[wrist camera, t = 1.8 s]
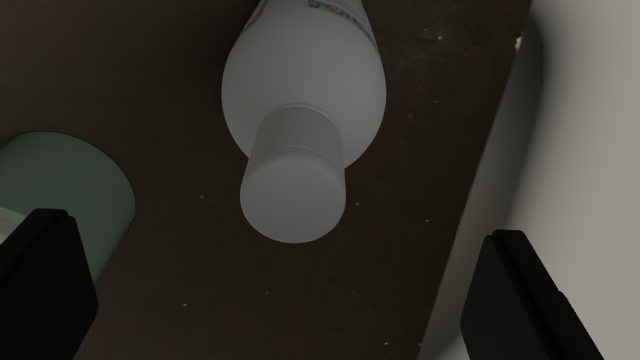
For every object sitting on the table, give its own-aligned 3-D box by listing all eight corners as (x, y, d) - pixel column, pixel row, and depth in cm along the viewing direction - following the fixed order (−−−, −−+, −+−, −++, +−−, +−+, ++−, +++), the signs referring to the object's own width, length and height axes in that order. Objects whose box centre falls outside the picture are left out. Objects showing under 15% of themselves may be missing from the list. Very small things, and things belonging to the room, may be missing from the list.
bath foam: (274, 88, 32) (215, 311, 15) (243, -18, 28) (117, 116, 11) (374, 66, 31) (433, 276, 14) (354, -46, 27) (402, 52, 10)
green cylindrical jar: (-29, 127, 34) (-150, 205, 25) (122, 135, 34) (54, 215, 25) (15, 244, 39) (-70, 340, 31) (145, 250, 40) (95, 347, 31)
